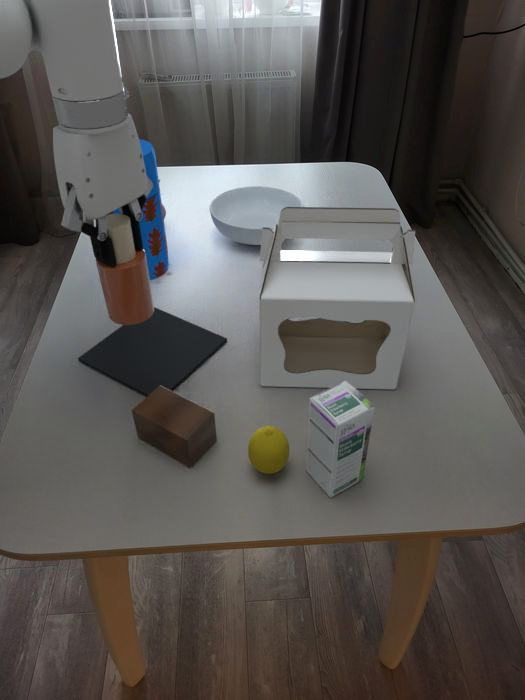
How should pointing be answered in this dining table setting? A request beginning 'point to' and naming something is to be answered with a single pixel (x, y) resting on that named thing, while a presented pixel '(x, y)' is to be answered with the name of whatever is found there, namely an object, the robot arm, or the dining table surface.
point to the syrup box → (338, 437)
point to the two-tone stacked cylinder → (125, 276)
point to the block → (175, 425)
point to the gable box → (335, 300)
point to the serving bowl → (250, 211)
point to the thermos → (152, 218)
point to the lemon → (268, 449)
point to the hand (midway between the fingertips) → (119, 253)
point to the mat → (153, 352)
